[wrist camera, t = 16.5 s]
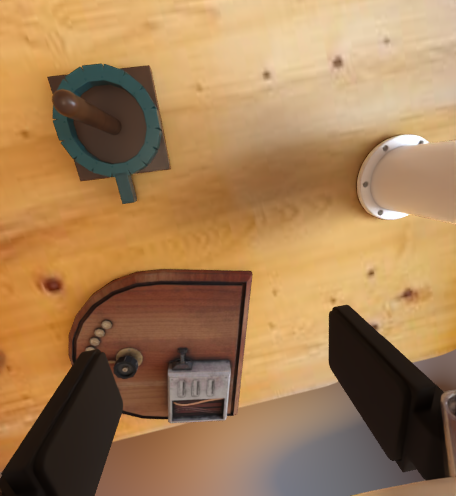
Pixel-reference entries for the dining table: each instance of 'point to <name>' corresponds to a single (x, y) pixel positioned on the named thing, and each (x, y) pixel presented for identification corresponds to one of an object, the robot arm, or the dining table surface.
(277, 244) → the dining table surface
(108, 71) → the ring
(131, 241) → the dining table surface
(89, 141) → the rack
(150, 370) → the control panel
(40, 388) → the dining table surface
